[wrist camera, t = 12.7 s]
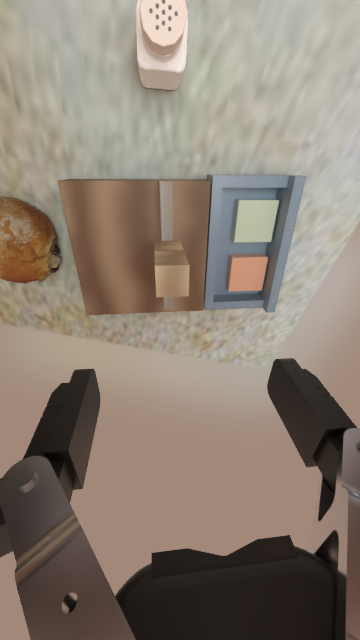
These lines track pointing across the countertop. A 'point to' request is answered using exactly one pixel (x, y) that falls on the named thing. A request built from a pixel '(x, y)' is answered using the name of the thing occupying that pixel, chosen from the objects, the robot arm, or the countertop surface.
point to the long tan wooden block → (169, 254)
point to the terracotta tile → (246, 272)
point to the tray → (222, 245)
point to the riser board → (133, 241)
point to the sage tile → (254, 220)
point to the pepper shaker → (161, 42)
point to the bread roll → (26, 243)
